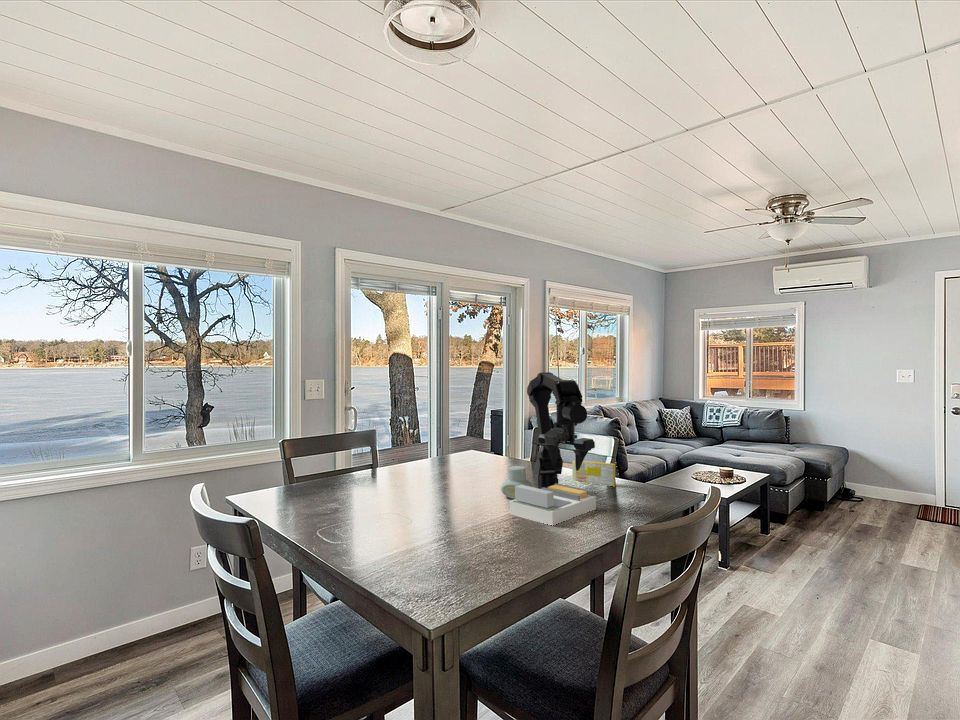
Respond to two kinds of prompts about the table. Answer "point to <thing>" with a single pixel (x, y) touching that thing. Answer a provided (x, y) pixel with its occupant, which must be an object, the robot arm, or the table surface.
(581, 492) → the yellow rectangular block
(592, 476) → the candy box
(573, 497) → the breaker box
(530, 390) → the robot arm
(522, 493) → the grey rectangular block
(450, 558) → the table surface
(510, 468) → the air freshener
